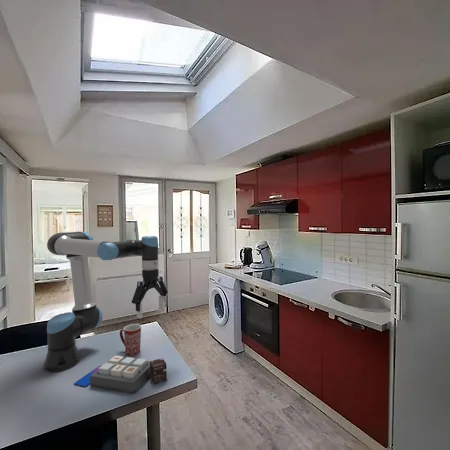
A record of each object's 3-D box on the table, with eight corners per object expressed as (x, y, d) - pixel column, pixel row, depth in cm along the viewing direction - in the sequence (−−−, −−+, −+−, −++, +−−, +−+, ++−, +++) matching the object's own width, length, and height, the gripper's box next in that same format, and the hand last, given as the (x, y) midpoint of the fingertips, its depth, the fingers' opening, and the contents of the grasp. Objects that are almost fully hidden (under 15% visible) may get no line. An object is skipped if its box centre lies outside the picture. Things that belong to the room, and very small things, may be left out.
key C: (123, 378, 109) (122, 371, 109) (129, 373, 114) (129, 365, 114) (132, 380, 108) (132, 372, 108) (138, 374, 112) (138, 367, 112)
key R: (120, 368, 117) (120, 362, 117) (126, 363, 121) (126, 357, 121) (129, 369, 116) (129, 363, 116) (135, 364, 120) (135, 358, 120)
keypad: (90, 386, 111) (89, 375, 111) (115, 366, 126) (115, 356, 126) (133, 393, 105) (133, 382, 105) (154, 371, 121) (154, 361, 121)
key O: (99, 375, 112) (98, 368, 112) (106, 369, 117) (106, 362, 117) (107, 376, 111) (107, 369, 111) (114, 370, 116) (114, 364, 116)
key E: (132, 370, 116) (132, 363, 116) (138, 365, 120) (138, 358, 120) (141, 371, 114) (141, 364, 114) (146, 366, 119) (146, 359, 119)
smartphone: (72, 383, 112) (100, 365, 126) (72, 385, 112) (100, 366, 126) (85, 387, 110) (112, 367, 124) (85, 389, 110) (112, 369, 124)
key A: (109, 367, 119) (109, 360, 119) (115, 361, 123) (115, 355, 123) (117, 368, 118) (117, 361, 118) (124, 363, 122) (123, 356, 122)
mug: (145, 349, 142) (145, 324, 142) (133, 358, 133) (133, 331, 133) (127, 346, 147) (126, 322, 146) (115, 353, 138) (114, 328, 138)
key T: (110, 377, 111) (110, 369, 111) (117, 371, 115) (117, 364, 115) (119, 378, 110) (119, 370, 110) (126, 372, 114) (126, 365, 114)
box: (152, 384, 111) (152, 367, 111) (149, 377, 116) (149, 361, 116) (167, 380, 114) (166, 363, 114) (163, 373, 119) (163, 357, 119)
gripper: (134, 274, 112) (135, 323, 112) (174, 265, 133) (174, 307, 133) (122, 272, 116) (123, 320, 116) (163, 264, 137) (164, 304, 137)
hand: (151, 313), depth 125 cm, fingers open, 13 cm apart
